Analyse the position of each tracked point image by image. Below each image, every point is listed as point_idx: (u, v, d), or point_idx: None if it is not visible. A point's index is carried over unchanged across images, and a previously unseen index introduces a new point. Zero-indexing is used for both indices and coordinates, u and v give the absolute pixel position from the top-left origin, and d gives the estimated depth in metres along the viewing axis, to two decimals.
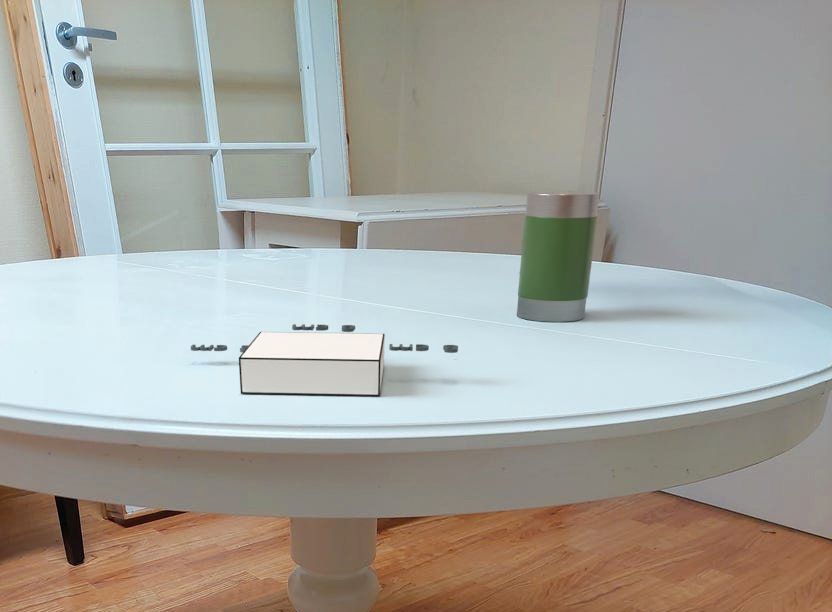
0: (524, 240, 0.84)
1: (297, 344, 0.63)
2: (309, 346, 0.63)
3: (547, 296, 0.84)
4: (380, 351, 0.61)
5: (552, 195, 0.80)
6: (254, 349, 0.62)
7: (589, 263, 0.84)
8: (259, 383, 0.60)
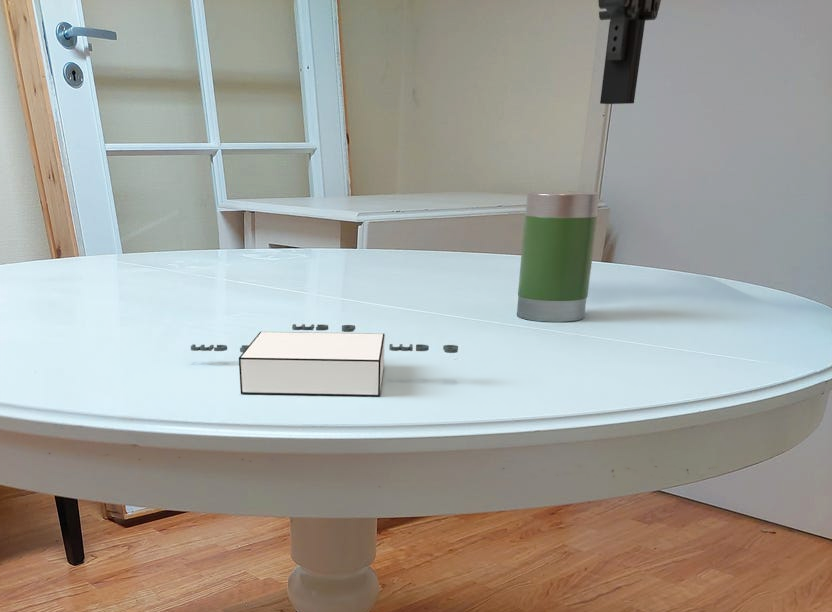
0: (524, 240, 0.84)
1: (297, 344, 0.63)
2: (309, 346, 0.63)
3: (547, 296, 0.84)
4: (380, 351, 0.61)
5: (552, 195, 0.80)
6: (254, 349, 0.62)
7: (589, 263, 0.84)
8: (259, 383, 0.60)
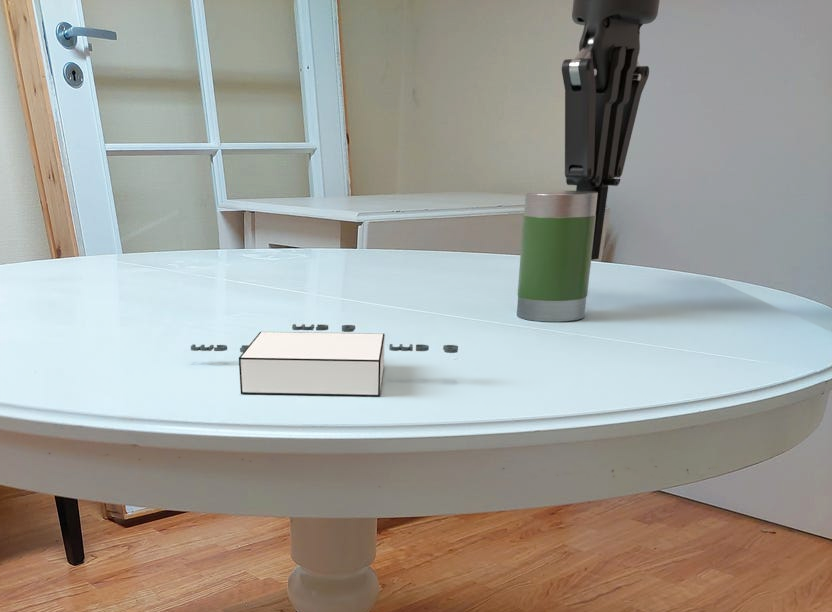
0: (523, 240, 0.84)
1: (297, 344, 0.63)
2: (309, 346, 0.63)
3: (547, 296, 0.84)
4: (380, 351, 0.61)
5: (550, 195, 0.80)
6: (254, 349, 0.62)
7: (588, 262, 0.84)
8: (259, 383, 0.60)
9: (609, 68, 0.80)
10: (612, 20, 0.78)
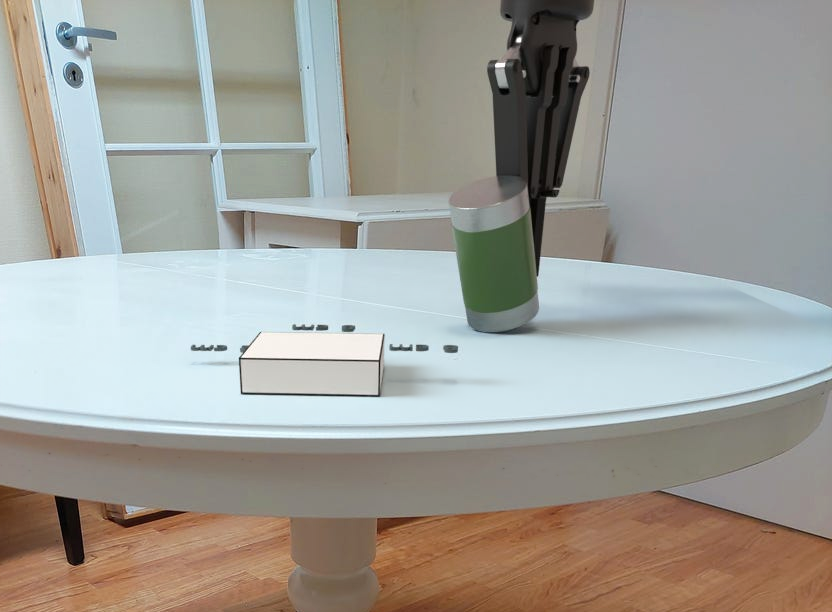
0: (456, 251, 0.77)
1: (297, 344, 0.63)
2: (309, 346, 0.63)
3: (493, 308, 0.78)
4: (380, 351, 0.61)
5: (473, 209, 0.73)
6: (254, 349, 0.62)
7: (531, 260, 0.77)
8: (259, 383, 0.60)
9: (541, 69, 0.73)
10: (542, 16, 0.71)
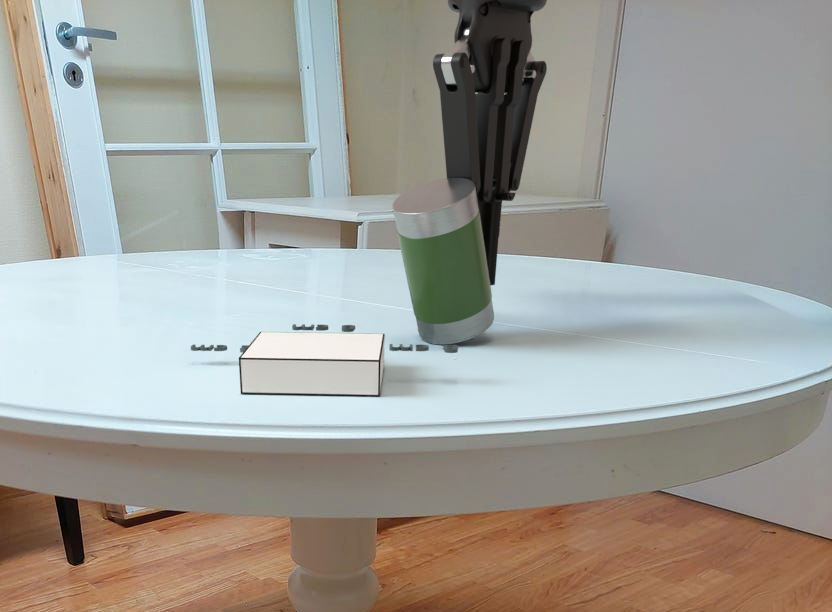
0: (403, 259, 0.72)
1: (297, 344, 0.63)
2: (309, 346, 0.63)
3: (443, 319, 0.73)
4: (380, 351, 0.61)
5: (417, 214, 0.68)
6: (254, 349, 0.62)
7: (482, 268, 0.72)
8: (259, 383, 0.60)
9: (491, 64, 0.68)
10: (491, 6, 0.66)
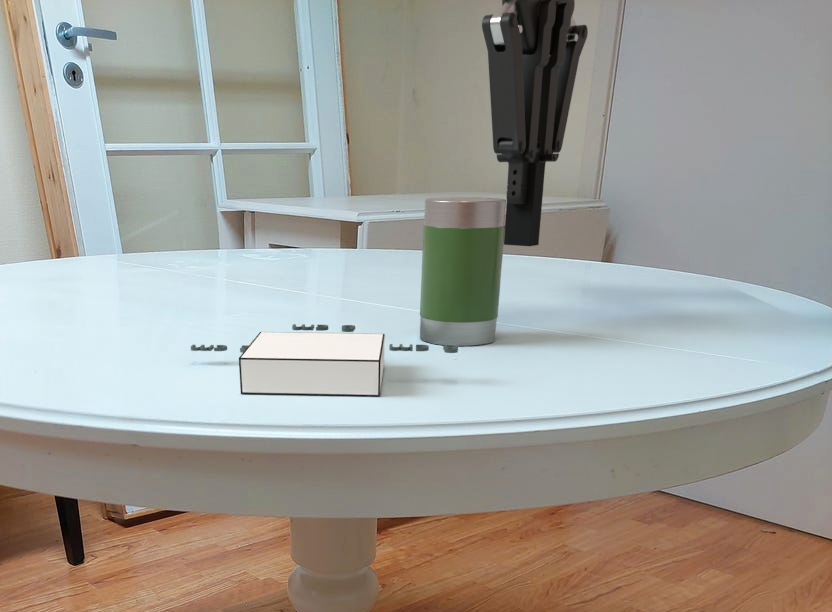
0: (423, 253, 0.74)
1: (297, 344, 0.63)
2: (309, 346, 0.63)
3: (449, 316, 0.74)
4: (380, 351, 0.61)
5: (449, 202, 0.70)
6: (254, 349, 0.62)
7: (497, 279, 0.74)
8: (259, 383, 0.60)
9: (537, 25, 0.70)
10: None
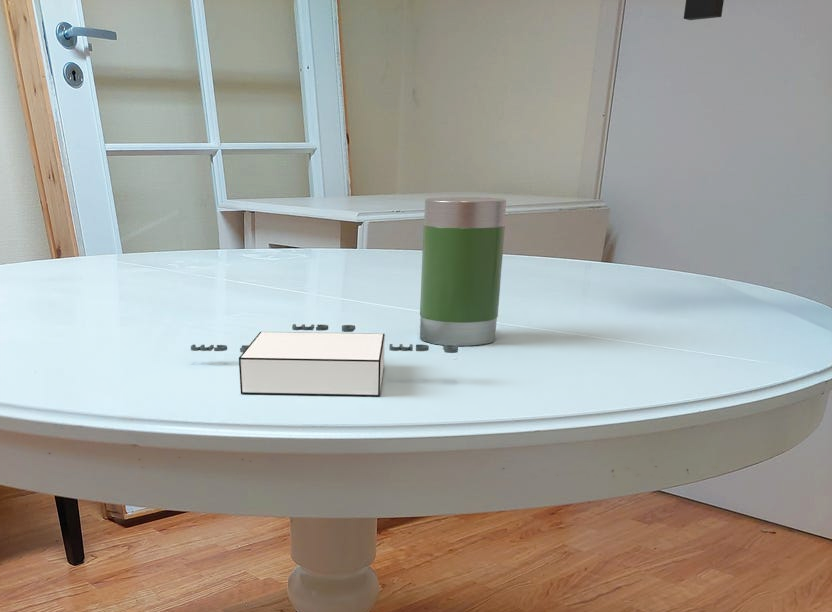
0: (423, 253, 0.74)
1: (297, 344, 0.63)
2: (309, 346, 0.63)
3: (449, 316, 0.74)
4: (380, 351, 0.61)
5: (449, 202, 0.70)
6: (254, 349, 0.62)
7: (497, 279, 0.74)
8: (259, 383, 0.60)
9: None
10: None
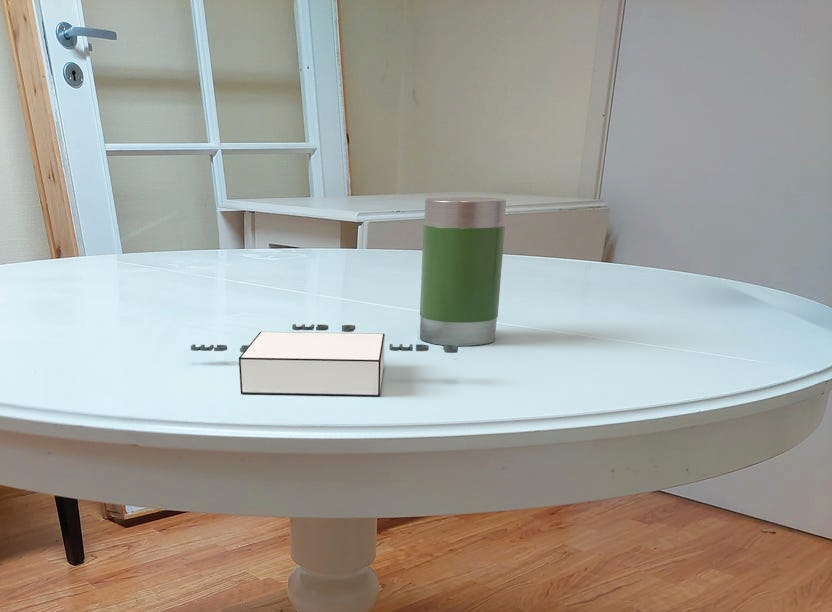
0: (423, 253, 0.74)
1: (297, 344, 0.63)
2: (309, 346, 0.63)
3: (449, 316, 0.74)
4: (380, 351, 0.61)
5: (449, 202, 0.70)
6: (254, 349, 0.62)
7: (497, 279, 0.74)
8: (259, 383, 0.60)
9: None
10: None
